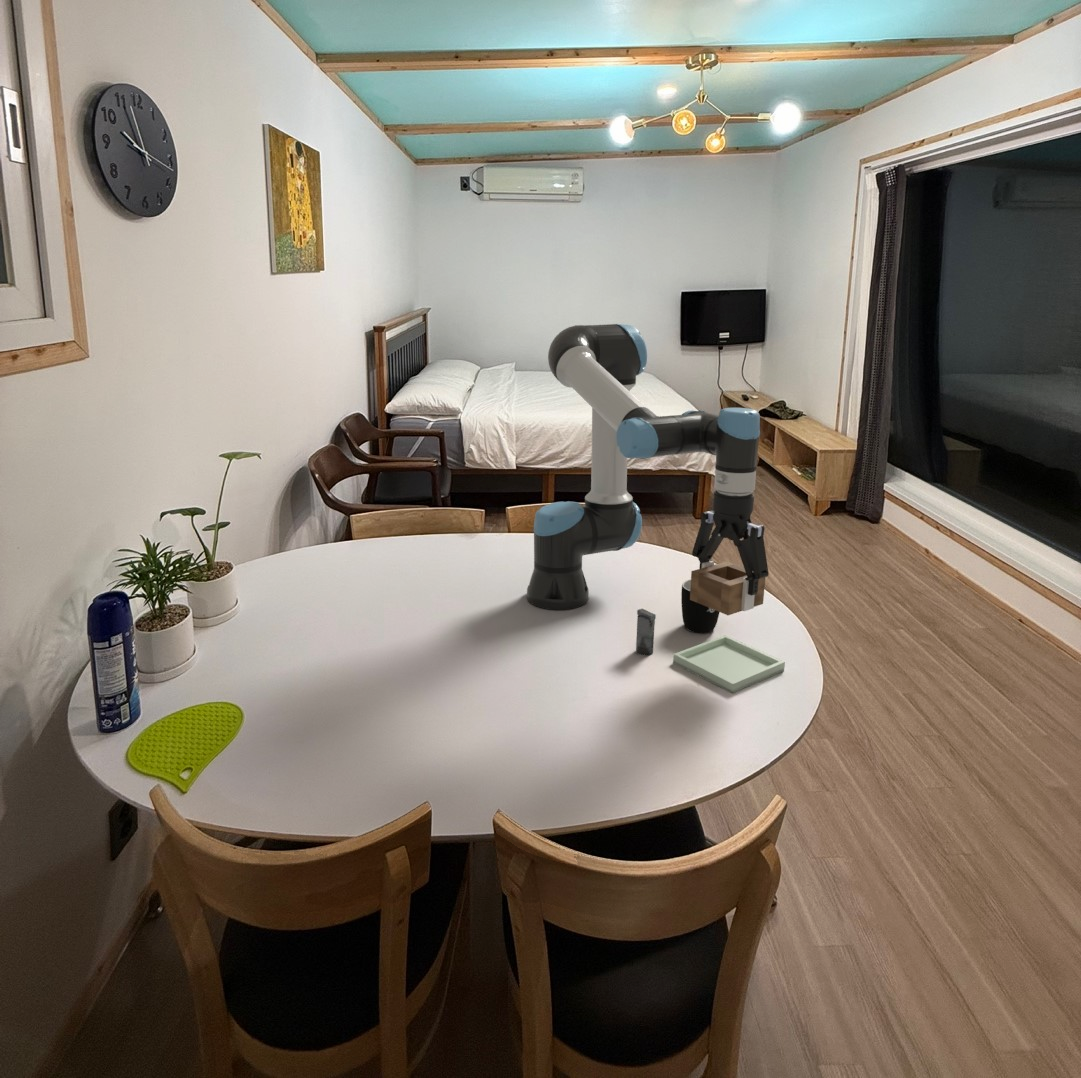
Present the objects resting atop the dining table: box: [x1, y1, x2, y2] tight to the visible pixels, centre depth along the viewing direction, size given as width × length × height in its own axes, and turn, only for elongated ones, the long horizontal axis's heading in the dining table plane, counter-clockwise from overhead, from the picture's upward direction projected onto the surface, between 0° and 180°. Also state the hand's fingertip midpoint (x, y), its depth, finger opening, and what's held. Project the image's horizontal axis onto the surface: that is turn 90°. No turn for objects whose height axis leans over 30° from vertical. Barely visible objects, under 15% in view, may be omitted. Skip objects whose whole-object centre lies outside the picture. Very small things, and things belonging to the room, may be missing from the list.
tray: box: [672, 634, 786, 694], centre depth 162 cm, size 16×16×2 cm
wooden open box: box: [690, 561, 766, 616], centre depth 157 cm, size 10×10×6 cm
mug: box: [680, 579, 721, 634], centre depth 180 cm, size 12×9×10 cm
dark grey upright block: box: [635, 608, 657, 656], centre depth 168 cm, size 4×4×9 cm
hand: (726, 600), depth 158 cm, fingers closed on wooden open box, 10 cm apart
